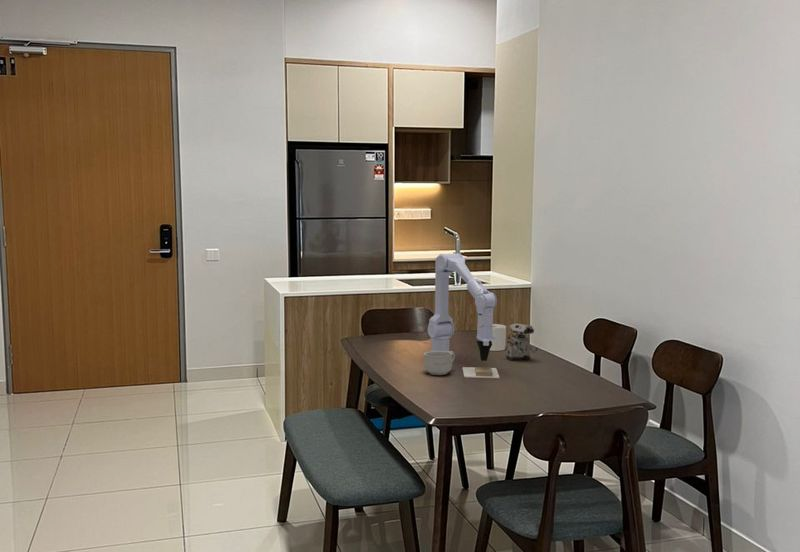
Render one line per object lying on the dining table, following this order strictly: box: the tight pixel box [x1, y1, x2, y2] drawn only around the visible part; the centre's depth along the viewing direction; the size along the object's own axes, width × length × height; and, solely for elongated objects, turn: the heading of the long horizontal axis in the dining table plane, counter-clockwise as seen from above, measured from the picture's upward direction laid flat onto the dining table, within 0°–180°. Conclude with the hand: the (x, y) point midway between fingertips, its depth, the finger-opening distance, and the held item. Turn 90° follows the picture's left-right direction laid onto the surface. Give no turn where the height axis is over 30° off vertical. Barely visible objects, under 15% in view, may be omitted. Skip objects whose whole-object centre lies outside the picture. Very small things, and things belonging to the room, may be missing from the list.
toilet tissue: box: [489, 323, 507, 352], centre depth 335 cm, size 11×12×10 cm
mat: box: [462, 366, 500, 379], centre depth 292 cm, size 14×13×1 cm
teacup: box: [423, 350, 456, 376], centre depth 290 cm, size 14×11×8 cm
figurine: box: [505, 322, 538, 361], centre depth 313 cm, size 9×12×15 cm
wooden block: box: [475, 366, 493, 376], centre depth 289 cm, size 2×6×7 cm
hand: (483, 360), depth 290 cm, fingers closed
